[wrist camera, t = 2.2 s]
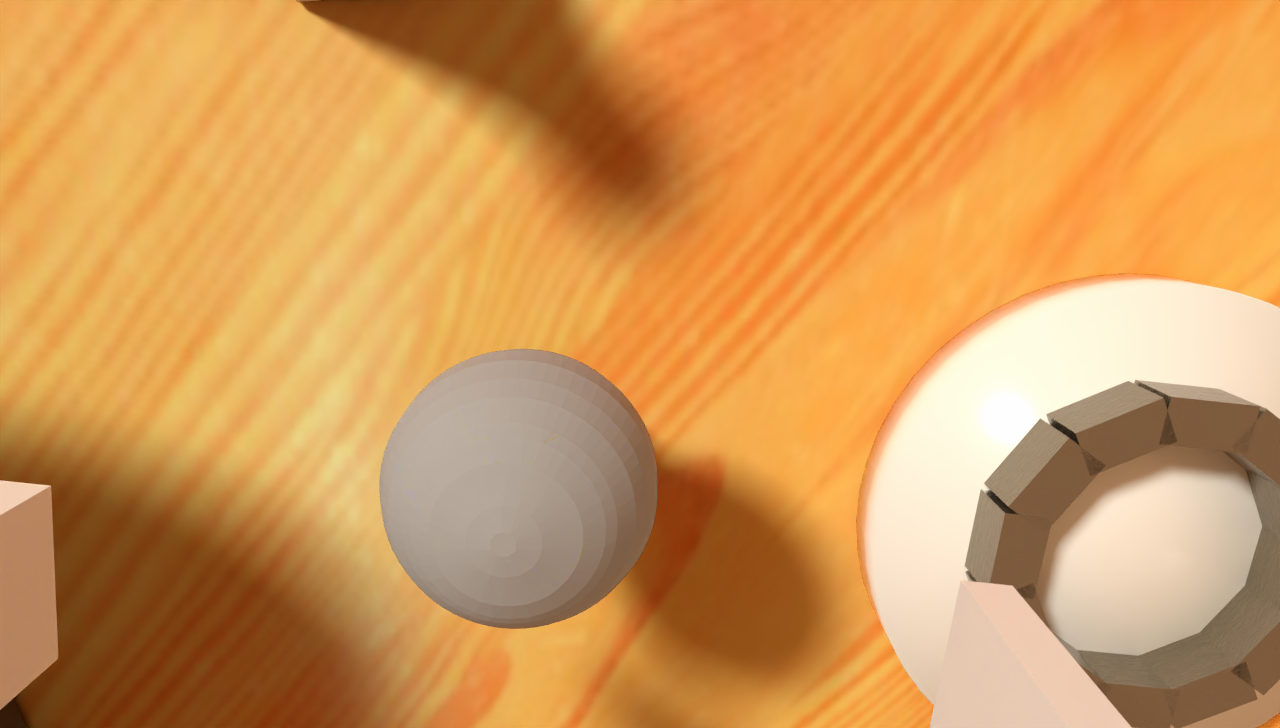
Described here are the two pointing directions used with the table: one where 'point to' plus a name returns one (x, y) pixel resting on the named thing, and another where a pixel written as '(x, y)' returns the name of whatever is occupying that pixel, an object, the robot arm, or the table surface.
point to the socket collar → (1066, 464)
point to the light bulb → (519, 488)
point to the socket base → (1113, 501)
